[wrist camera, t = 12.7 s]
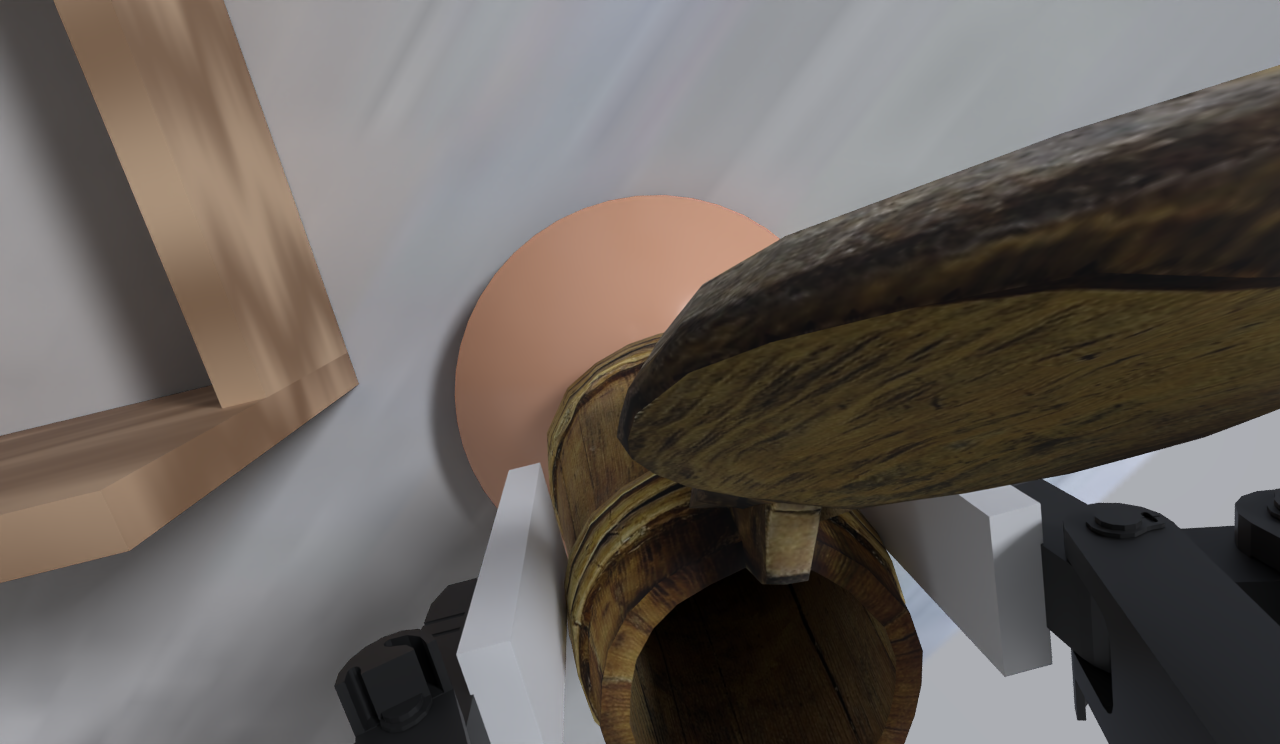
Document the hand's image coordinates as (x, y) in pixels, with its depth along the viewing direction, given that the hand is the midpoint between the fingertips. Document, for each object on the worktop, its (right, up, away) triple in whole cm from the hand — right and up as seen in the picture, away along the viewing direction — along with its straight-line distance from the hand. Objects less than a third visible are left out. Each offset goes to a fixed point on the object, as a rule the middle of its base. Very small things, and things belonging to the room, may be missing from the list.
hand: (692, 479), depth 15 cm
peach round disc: (-1, +2, +9) cm, 9 cm away
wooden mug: (0, +2, +6) cm, 7 cm away
